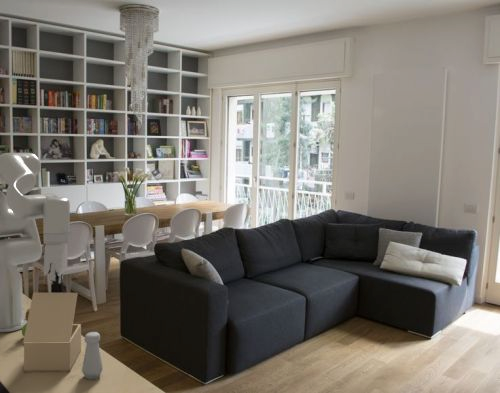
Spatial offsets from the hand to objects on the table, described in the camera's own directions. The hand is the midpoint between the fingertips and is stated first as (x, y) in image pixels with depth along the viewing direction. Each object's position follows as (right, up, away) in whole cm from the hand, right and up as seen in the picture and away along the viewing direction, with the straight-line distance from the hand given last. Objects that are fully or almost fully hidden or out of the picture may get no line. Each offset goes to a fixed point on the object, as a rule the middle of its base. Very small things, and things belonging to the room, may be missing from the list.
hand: (57, 294), depth 152 cm
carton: (0, -20, -1) cm, 20 cm away
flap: (+1, -6, -6) cm, 8 cm away
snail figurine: (-15, -18, +15) cm, 27 cm away
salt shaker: (+14, -22, -10) cm, 28 cm away
